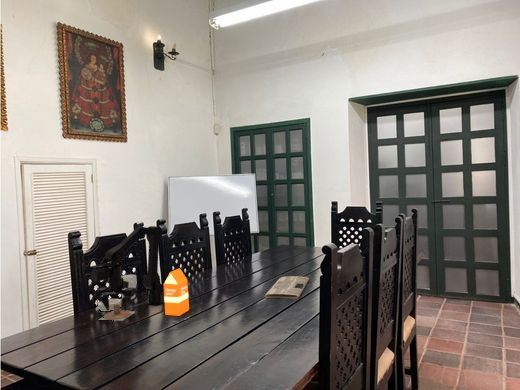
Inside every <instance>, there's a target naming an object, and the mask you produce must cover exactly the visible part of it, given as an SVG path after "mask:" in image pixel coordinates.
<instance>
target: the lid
mask: <svg viewBox="0 0 520 390" xmlns="http://www.w3.org/2000/svg"><path fill="white" fill-rule="evenodd" d="M130 311H131V310H128V309H127V310H126V311H125V309H121V308H120V305H119V304H117V305H114V311H111V312H105V314H104V315H103V317H104V318H105V319H107V320H116V319H121V318H125V317H127V316H129V315H130ZM129 317H130V316H129Z"/></svg>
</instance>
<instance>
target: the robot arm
mask: <svg viewBox="0 0 520 390" xmlns="http://www.w3.org/2000/svg"><path fill="white" fill-rule="evenodd" d="M163 233H164V230H163V228H162V227H161V226H157V225H156V226H155V225H150V226H148V227H145V226H136V227H135V228H134V229H133V230H132V231H131V232H130V233H129V234H128V235H127V236H126V237H125V238H124V239H123V240H122V241H121V242H119V244H117V245H116V246H114V247H111V248H110V249H108V250H107V251H106V252H105V254H104V258H103V260H102V261H101V264H100V265H98V266H93V267H92V270H91V272H90V278H91V281H92V282H93V283H98V282H100V281H101V282H102V281H105V280H107V281H106V283H107V284H108V287H100V288H97V289H96V290H95V291H94V297H97V299H99V301H100V302H102V303H103V305H104V306H105V308H106V309H107V310H109V299H110V298H109V297H110V295H122V294H123V295H124V297H123V299H122V302H123V308H124V309H123V310H125V311H126V310H128V307H129V303H130V302H131V300H132V299H131V297H132V296H134V295H135V294H138V289H137V287H136V288H128V285H129V282H127V281H124V280H123V278H121V276H122V267H125V266H126V264H125V263H123V262H122V260H124V258H125V256H126V254H127V251H128V250H129V249H130V248H131V247H132V246H134V245H135V244H136V242H138V240H139V239H141V238H142V236H146V237H145V238H146V240H147V242H148V254H147V255H148V256H147V258H148V261H147V272H146V275H145V274H143V275H142V276H143V277H142V284H143V287H144V288H145V290H146V292H148V294H147V299H148V303H147V305H149V306H161V305H162V304H163V303H165V301H164V284H163V283H162V281H161V276H160V275H159V270H158V267H159V250H160V249H159V247H160V243H161V241H162V239H163ZM125 288H127V289H125ZM122 289H125V290H122ZM135 296H136V295H135ZM130 299H131V300H130Z"/></svg>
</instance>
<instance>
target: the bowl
mask: <svg viewBox="0 0 520 390" xmlns="http://www.w3.org/2000/svg"><path fill="white" fill-rule="evenodd" d="M117 304H119V305H120V307H121V308H122V302H121V299H119V298H109V310H107V309H106V308H105V306H104V305H103V303H102V302H101V301H99V302H98V303H97V309H98V308H99V309H100V310H101V311H110V310H114V305H117Z"/></svg>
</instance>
